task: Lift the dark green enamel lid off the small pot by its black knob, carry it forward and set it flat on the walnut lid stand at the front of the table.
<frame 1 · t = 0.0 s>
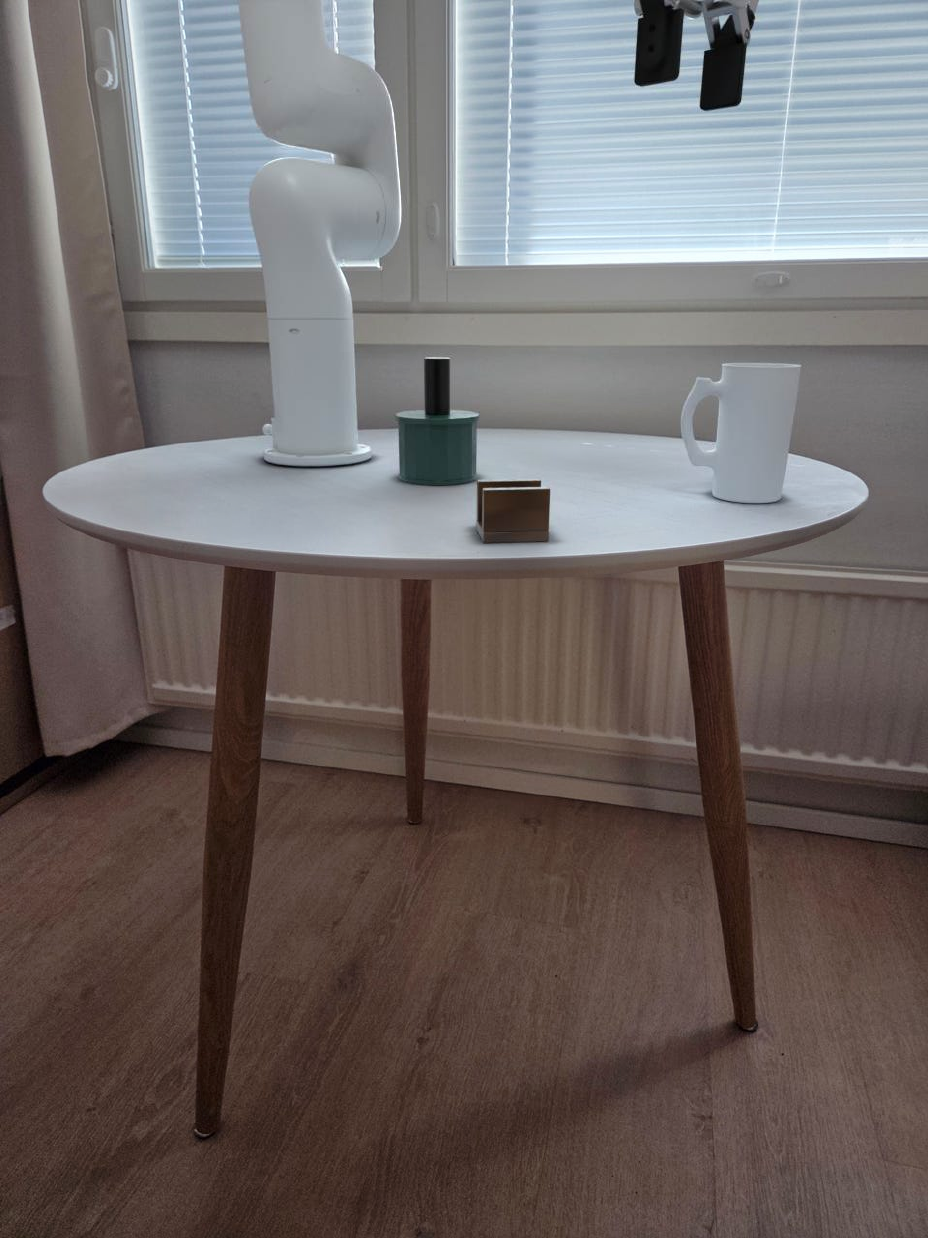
hand: (689, 95, 61), 31 cm above the table, tool pointing down, fingers open, 9 cm apart
pot: (437, 478, 89), on the table
mug: (728, 498, 80), on the table
lid: (437, 419, 87), point 6 cm above the table, touching pot
rack: (511, 535, 66), on the table
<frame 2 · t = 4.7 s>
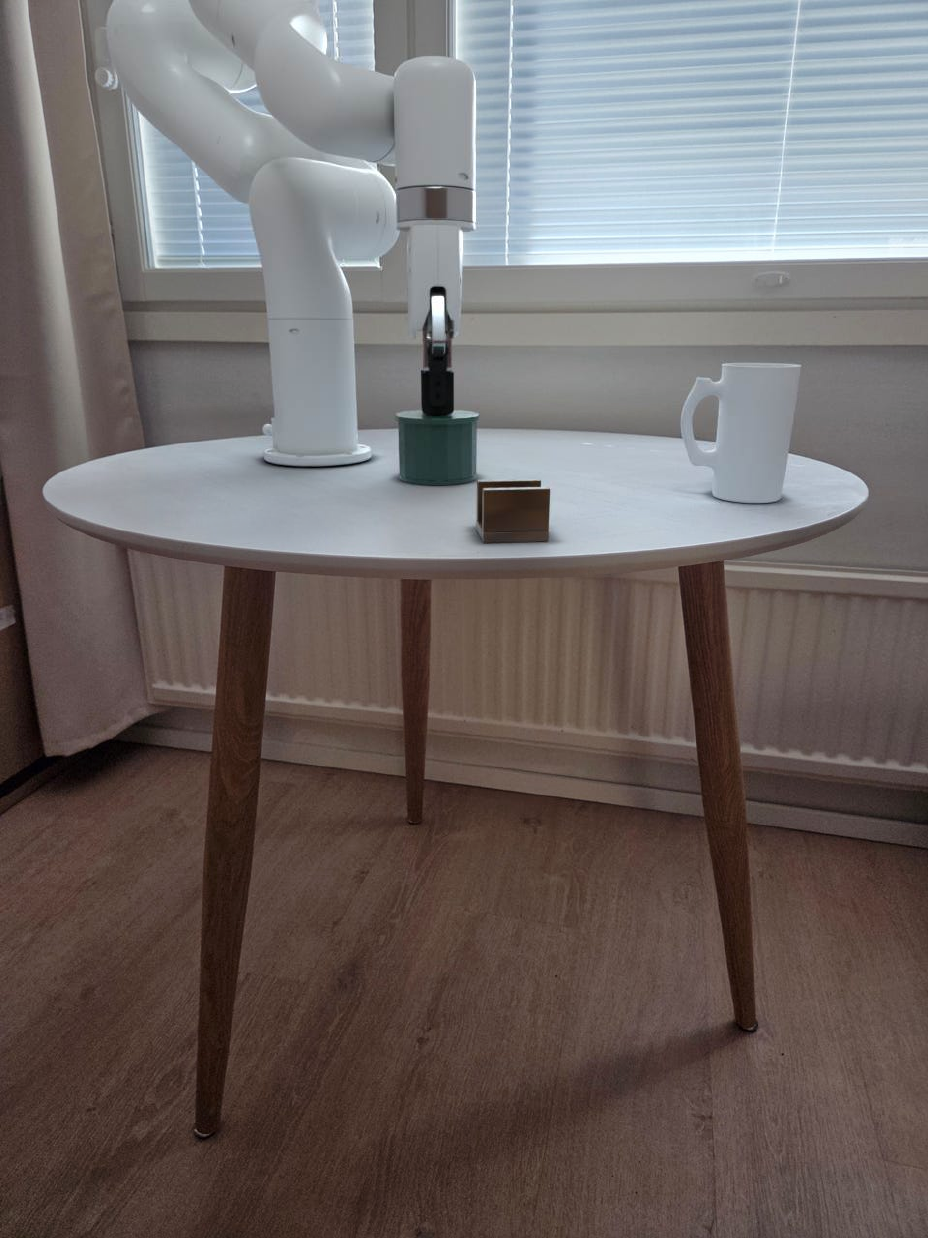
hand: (437, 410, 86), 7 cm above the table, tool pointing down, fingers closed on lid, 2 cm apart
lid: (437, 419, 87), point 6 cm above the table, touching gripper, pot
everything else where it was.
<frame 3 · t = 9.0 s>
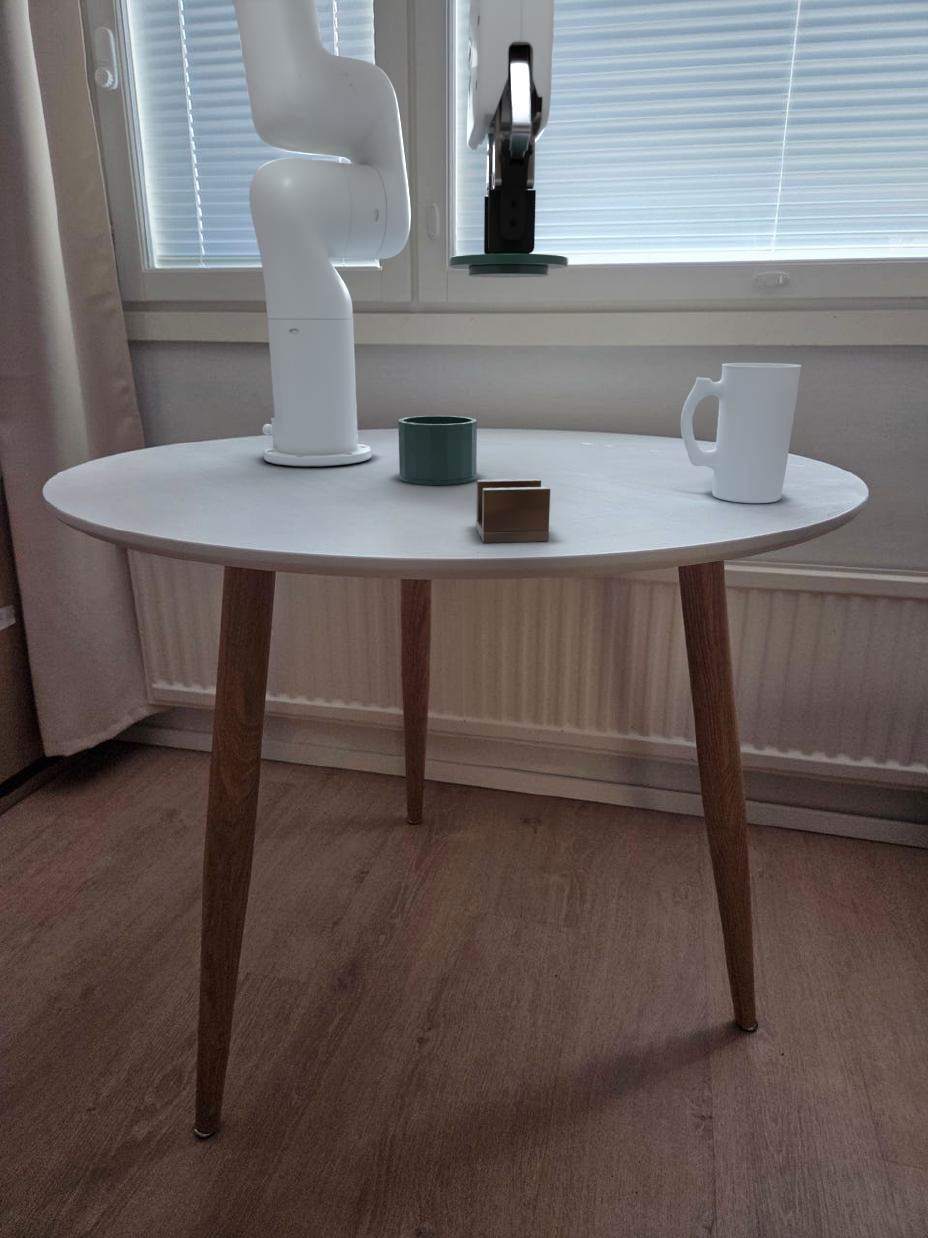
hand: (508, 252, 61), 20 cm above the table, tool pointing down, fingers closed on lid, 2 cm apart
lid: (508, 266, 61), point 19 cm above the table, touching gripper
everything else where it was.
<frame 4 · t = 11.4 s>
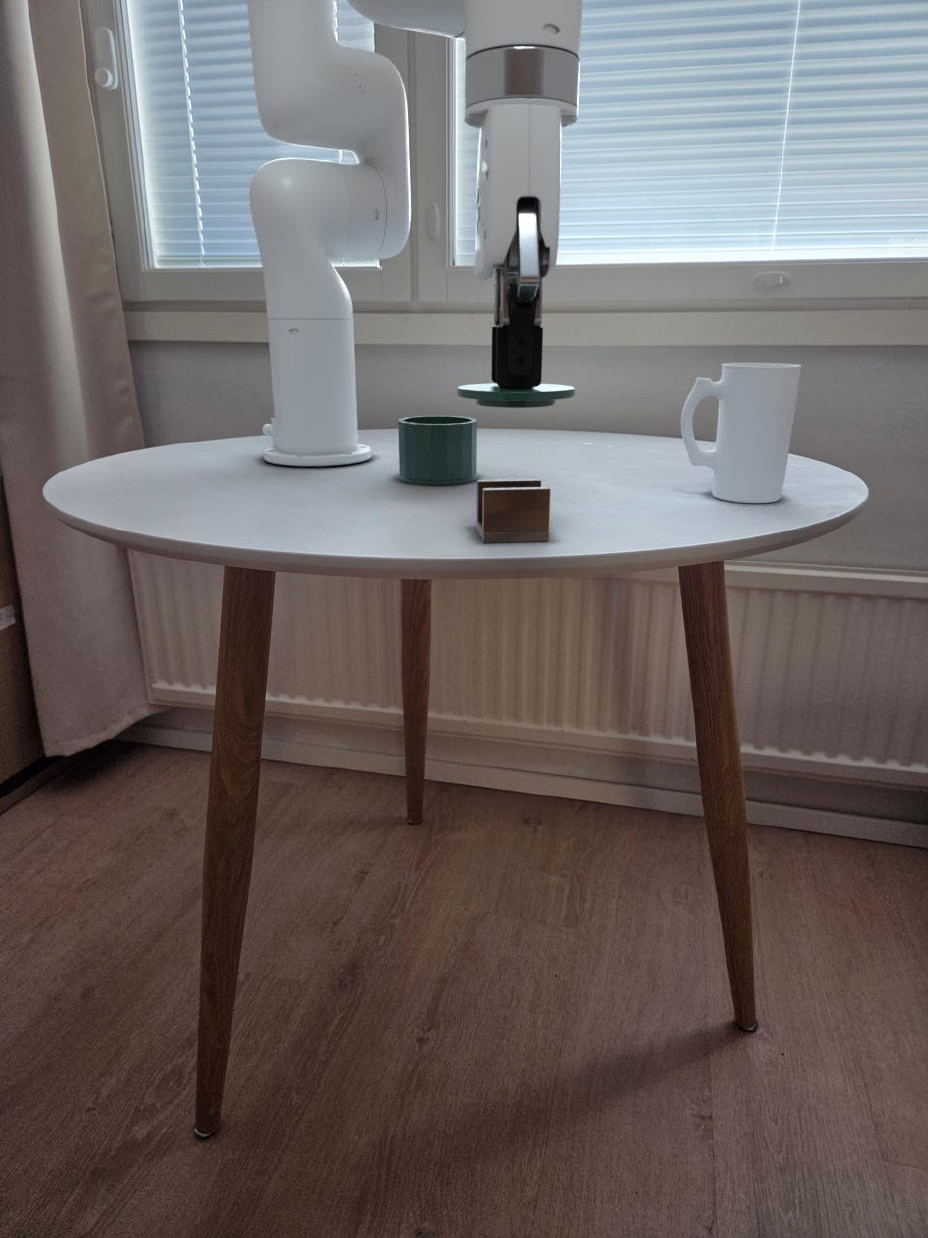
hand: (515, 382, 62), 12 cm above the table, tool pointing down, fingers closed on lid, 2 cm apart
lid: (515, 395, 62), point 11 cm above the table, touching gripper
everything else where it was.
when the fingers open (6 cm above the table, at t = 13.2 s): lid stays where it is, resting on rack.
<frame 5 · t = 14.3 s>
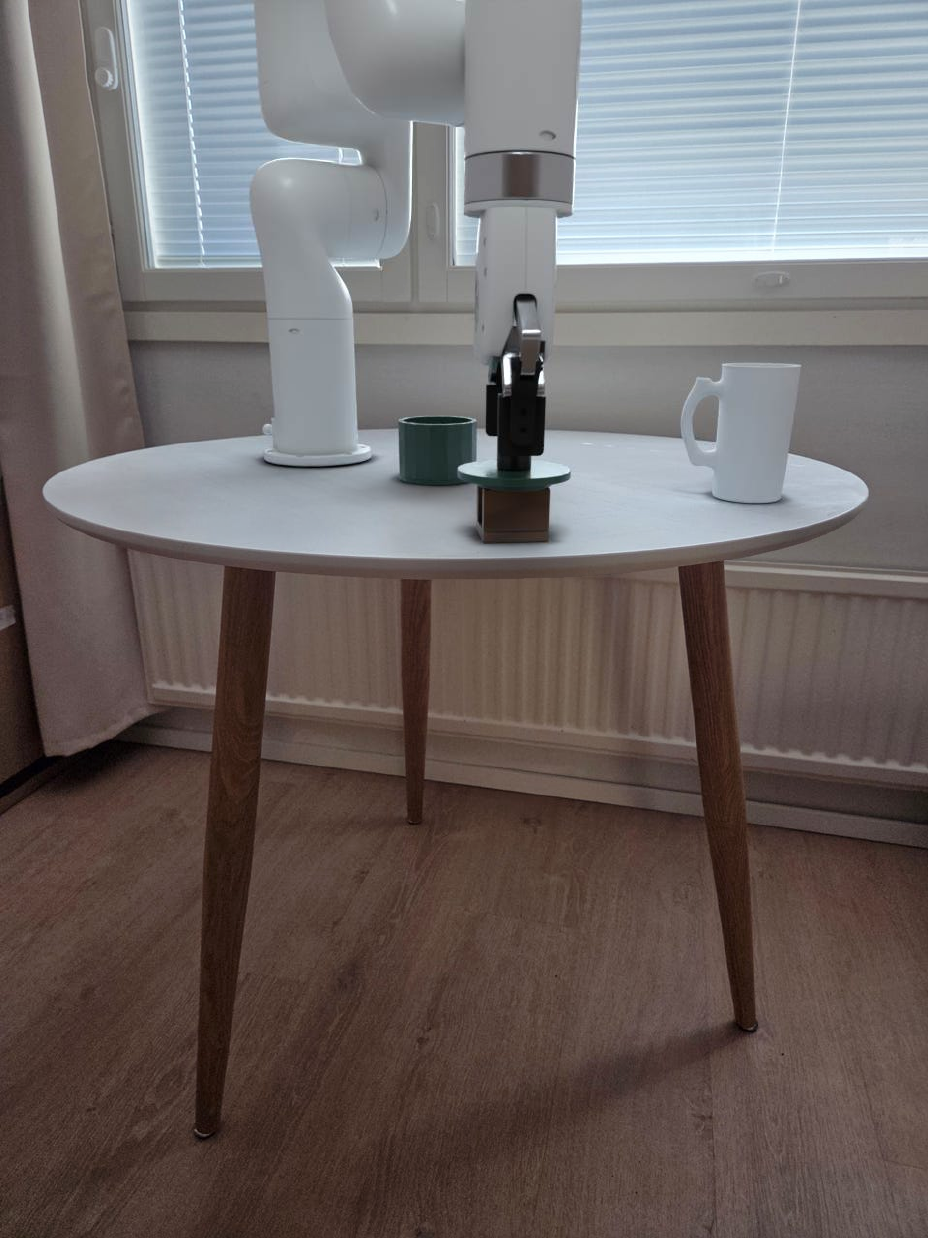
hand: (512, 444, 63), 7 cm above the table, tool pointing down, fingers open, 9 cm apart
lid: (513, 476, 64), point 5 cm above the table, touching rack
everything else where it was.
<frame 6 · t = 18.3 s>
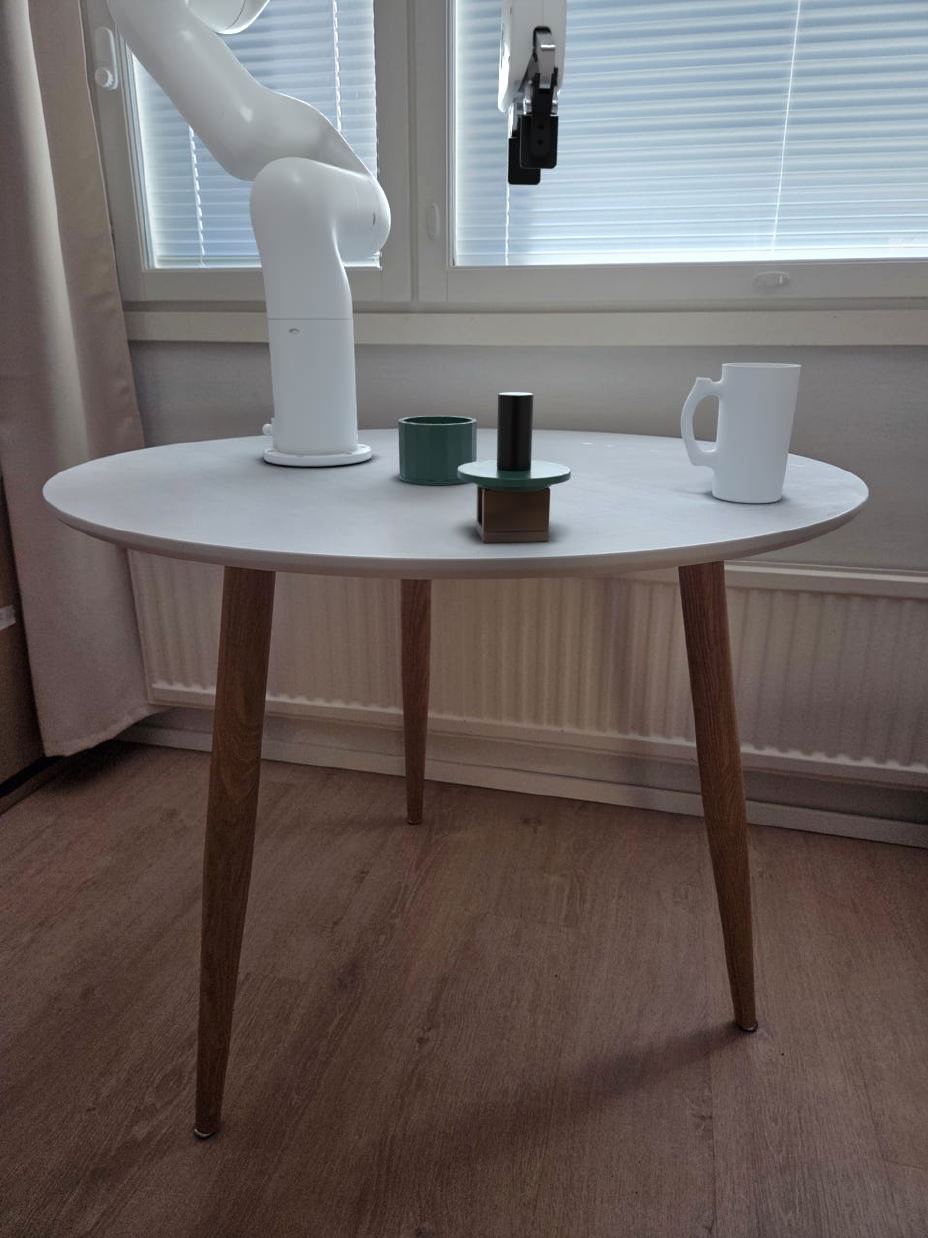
hand: (530, 176, 78), 28 cm above the table, tool pointing down, fingers open, 9 cm apart
nothing on the table moved.
at the end: lid 0.1 cm off-centre on the rack, point 4.6 cm above the rack's base; lid tilted 0°; the gripper is holding nothing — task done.
